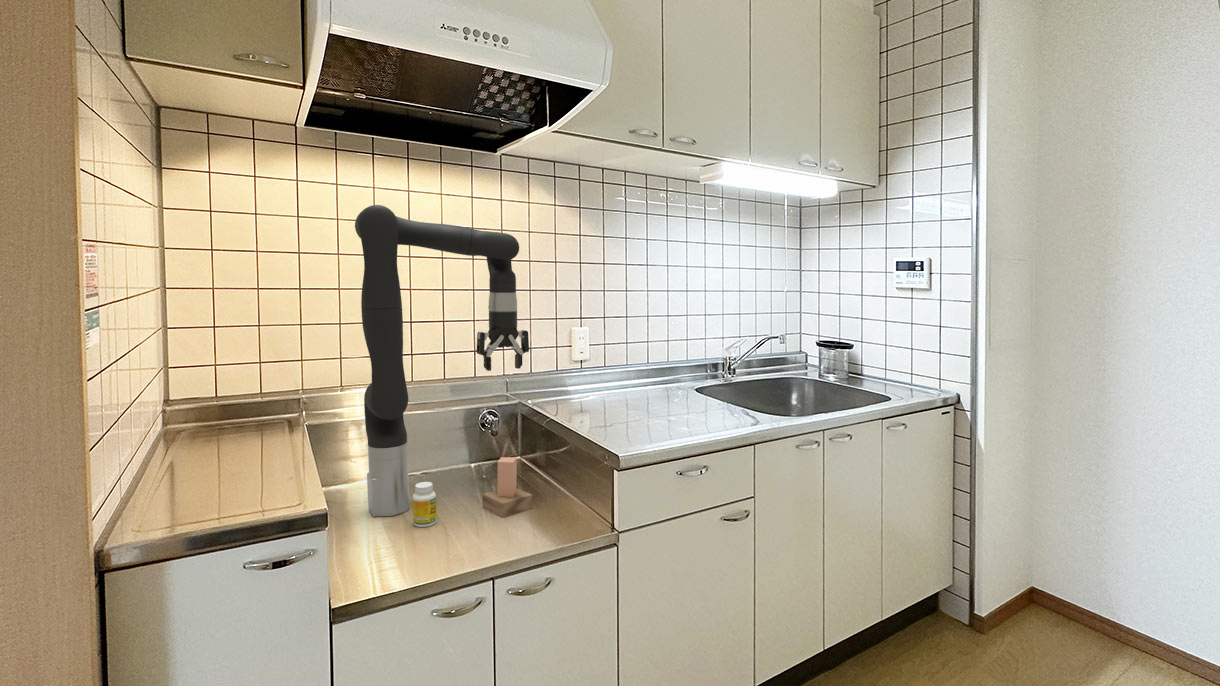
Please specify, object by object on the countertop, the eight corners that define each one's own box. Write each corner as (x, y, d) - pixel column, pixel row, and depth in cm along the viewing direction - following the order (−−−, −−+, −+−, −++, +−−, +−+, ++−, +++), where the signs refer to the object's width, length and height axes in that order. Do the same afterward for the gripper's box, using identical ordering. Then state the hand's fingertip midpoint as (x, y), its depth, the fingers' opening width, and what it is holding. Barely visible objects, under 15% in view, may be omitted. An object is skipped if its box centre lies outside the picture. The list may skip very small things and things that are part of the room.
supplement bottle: (417, 518, 144) (415, 480, 143) (439, 518, 145) (438, 480, 144) (410, 527, 139) (409, 488, 138) (433, 527, 139) (432, 488, 138)
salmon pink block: (513, 497, 149) (513, 462, 148) (497, 496, 150) (497, 461, 149) (516, 491, 153) (516, 457, 152) (501, 490, 154) (501, 457, 153)
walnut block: (502, 519, 145) (502, 503, 145) (482, 509, 152) (482, 493, 151) (532, 509, 152) (532, 494, 151) (511, 500, 158) (511, 485, 158)
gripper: (483, 310, 151) (483, 373, 153) (533, 309, 159) (533, 369, 161) (472, 309, 158) (473, 369, 159) (521, 308, 166) (521, 365, 167)
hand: (503, 369), depth 160 cm, fingers open, 8 cm apart
